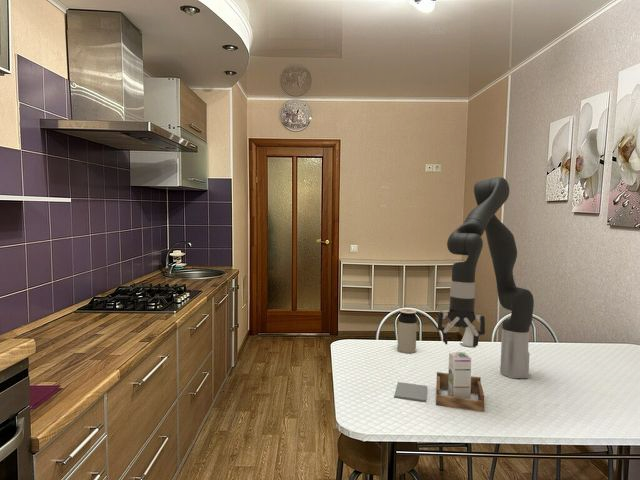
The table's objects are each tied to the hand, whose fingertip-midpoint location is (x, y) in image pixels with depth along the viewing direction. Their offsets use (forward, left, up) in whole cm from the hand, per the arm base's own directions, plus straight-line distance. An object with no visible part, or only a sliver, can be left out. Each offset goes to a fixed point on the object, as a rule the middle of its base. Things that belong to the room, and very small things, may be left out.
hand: (459, 345), depth 130 cm
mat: (+15, 0, -18) cm, 23 cm away
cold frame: (0, 0, -18) cm, 18 cm away
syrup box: (0, 0, -18) cm, 18 cm away
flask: (-7, -64, -18) cm, 67 cm away
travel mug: (+20, -45, -18) cm, 52 cm away
